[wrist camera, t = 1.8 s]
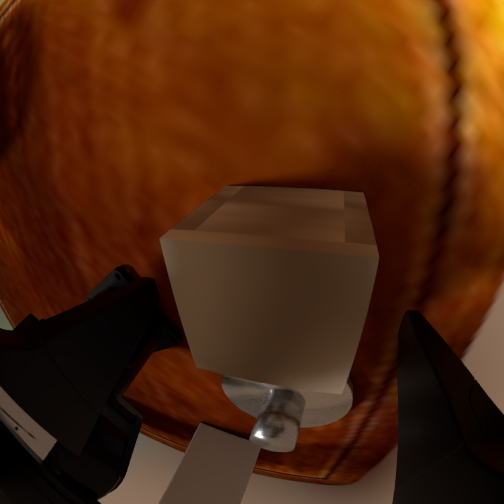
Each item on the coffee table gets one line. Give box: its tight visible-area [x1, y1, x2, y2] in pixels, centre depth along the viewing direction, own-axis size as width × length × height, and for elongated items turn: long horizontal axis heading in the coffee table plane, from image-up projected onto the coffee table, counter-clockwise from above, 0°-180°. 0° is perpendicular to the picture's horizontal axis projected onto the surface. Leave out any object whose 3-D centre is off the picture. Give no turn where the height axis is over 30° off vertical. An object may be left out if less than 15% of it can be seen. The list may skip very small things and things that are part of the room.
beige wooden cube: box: [160, 186, 379, 394], centre depth 10 cm, size 6×6×5 cm
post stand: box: [221, 374, 353, 452], centre depth 15 cm, size 9×9×4 cm
